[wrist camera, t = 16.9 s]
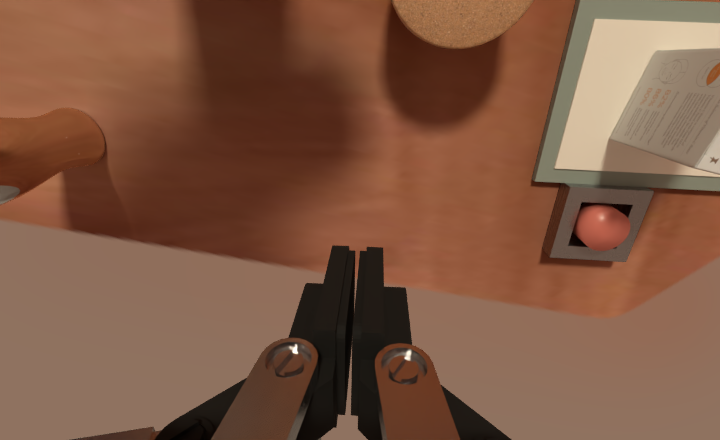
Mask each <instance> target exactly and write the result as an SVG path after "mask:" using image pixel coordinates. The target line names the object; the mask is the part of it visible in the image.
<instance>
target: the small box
mask: <svg viewBox="0 0 720 440" xmlns="http://www.w3.org/2000/svg"><path fill="white" fill-rule="evenodd" d="M610 139H611V140H613V141H616V142H619V143H622V144H625V145H628V146H631V147H634V148H637V149H640V150H642V151H645V152H648V153H651V154H654V155H657V156H659V157H662V158H665V159H668V160H670V161H673V162H676V163H679V164H682V165H685V166H688V167H691V168H694V169H698V170H702V171H706V172H710V173H714V174H718V175H720V48H704V49H678V50H657V51H655V53H654V55H653V57H652V59H651V61H650V63H649V65H648V66H647V68H646V70H645V72H644V74H643V76H642V78H641V80H640V82H639V84H638V85H637V87H636V89H635V91H634V93H633V95H632V97H631V99H630V101H629V103H628V105H627V106H626V108H625V110H624V112H623V114H622V116H621V118H620V120H619V122H618V124H617V126H616V128H615V130H614V131H613V133H612V135H611V137H610Z"/></svg>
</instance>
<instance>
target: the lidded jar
mask: <svg viewBox="0 0 720 440" xmlns="http://www.w3.org/2000/svg"><path fill="white" fill-rule="evenodd" d="M533 1H534V0H391V2H392V5H393V7H394V9H395V11H396V13H397V15H398V17H399V18H400V20H401V21H402V22H403V24H404V25H405V26H406V28H407V29H408V30H410V31H411V32H412V33H413V34H414V35H415V36H417V37H418V38H420V39H421V40H423V41H425V42H427V43H429V44H431V45H434V46H437V47H441V48H445V49H466V48H472V47H476V46H479V45H483V44H485V43H487V42H489V41H491V40H494V39H495V38H497V37H499V36H500V35H502V34H503V33H505V32H506V31H507V30H508V29H510V28H511V27H512V26H513V25H514V24H515V23H516V22H517V21H518V20H519V19H520V18H521V17H522V16H523V14H524V13H525V12H526V11H527V9H528V8H529V6H530V5H531V3H532V2H533Z"/></svg>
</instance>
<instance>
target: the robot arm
mask: <svg viewBox="0 0 720 440" xmlns="http://www.w3.org/2000/svg"><path fill="white" fill-rule="evenodd" d="M354 289H355V251H350V250H349V246H332V250H331V254H330V258H329V262H328V266H327V271H326V275H325V279H324V283H323V284H316V283H307V284H306V285H305V287H304V290H303V294H302V297H301V300H300V303H299V306H298V309H297V313H296V316H295V319H294V322H293V325H292V328H291V332H290V335H289V338H286V339H281V340H278V341H276V342H274V343H272V344H271V345H269V346H268V347H267V348H266V349H265V350H264V351H263V352H262V354H261V355H260V357H259V359H258V360H257V362H256V364H255V365H254V367H253V369H252V371H251V372H250V374H249V376H248V377H247V378H246V379H244V380H242V381H240V382H239V383H237V384H235V385H234V386H232V387H230V388H228V389H227V390H225V391H223V392H222V393H220V394H218V395H216V396H215V397H213V398H212V399H210V400H208V401H206V402H205V403H203V404H201V405H200V406H198V407H196V408H194V409H192V410H191V411H189V412H187V413H186V414H184V415H182V416H180V417H179V418H177V419H175V420H174V421H173V422H171V423H170V424H168V425H167V426H166V427H164V429H163V430H161V431H155V430H154V427H148V428H142V429H136V430H129V431H123V432H116V433H109V434H103V435H97V436H91V437H84V438H78V439H72V440H321V437H322V436H323V435H325V434H326V433H327V432H328V431H330V430H331V429H332V428H333V427H336V426H337V417H338V414H339V415H345V410H346V400H347V389H348V378H349V367H350V357H351V347H352V391H351V393H352V395H351V415H356V416H358V429H359V431H360V432H361V433H362V434H363V435H364V436H365V437H366V438H367V439H368V440H511V439H510V438H509V437H507V436H506V435H505V434H503V433H502V432H501V431H500V430H498V429H497V428H496V427H494V426H493V425H492V424H491V423H489V422H488V421H487V420H485V419H484V418H483V417H482V416H480V415H479V414H478V413H476V412H475V411H474V410H473V409H471V408H470V407H469V406H467V405H466V404H465V403H464V402H462V401H461V400H460V399H458V398H457V397H456V396H455V395H453V394H452V393H450V392H449V391H448V390H447V389H446V388H444V387H443V386H442V385H441V384H440V382H439V379H438V376H437V373H436V370H435V368H434V365H433V362H432V361H431V359H430V357H429V356H428V355H427V354H426V353H425V352H424V351H423V350H421V349H419V348H418V347H416V346H413V345H412V340H411V331H410V322H409V312H408V303H407V294H406V288H401V287H384V272H383V248H379V247H367V251H360V258H359V269H358V279H357V290H356V300H355V311H354ZM352 336H353V337H352Z"/></svg>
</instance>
